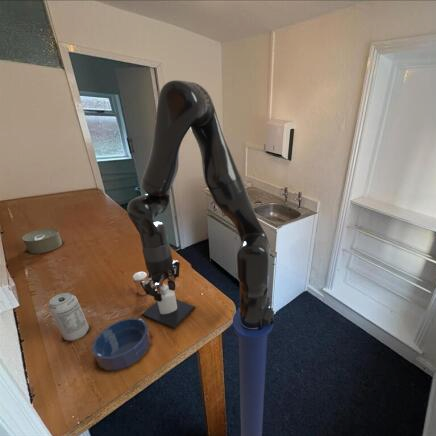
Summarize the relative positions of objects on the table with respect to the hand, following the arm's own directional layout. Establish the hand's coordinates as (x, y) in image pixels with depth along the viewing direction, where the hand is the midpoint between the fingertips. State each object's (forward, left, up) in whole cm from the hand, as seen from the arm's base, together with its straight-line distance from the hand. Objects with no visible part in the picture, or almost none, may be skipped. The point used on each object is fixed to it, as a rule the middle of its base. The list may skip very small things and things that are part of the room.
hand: (165, 294), depth 81 cm
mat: (0, 0, -8) cm, 8 cm away
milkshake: (+16, -3, -8) cm, 18 cm away
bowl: (+1, +16, -8) cm, 18 cm away
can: (+82, -7, -8) cm, 83 cm away
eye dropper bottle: (0, 0, -8) cm, 8 cm away
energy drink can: (+19, +18, -8) cm, 27 cm away
